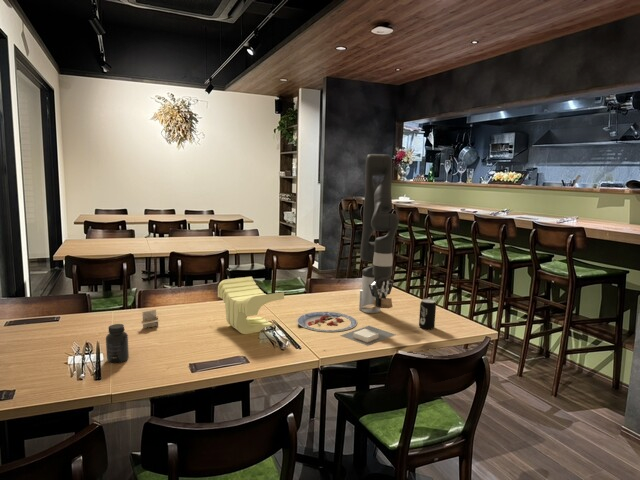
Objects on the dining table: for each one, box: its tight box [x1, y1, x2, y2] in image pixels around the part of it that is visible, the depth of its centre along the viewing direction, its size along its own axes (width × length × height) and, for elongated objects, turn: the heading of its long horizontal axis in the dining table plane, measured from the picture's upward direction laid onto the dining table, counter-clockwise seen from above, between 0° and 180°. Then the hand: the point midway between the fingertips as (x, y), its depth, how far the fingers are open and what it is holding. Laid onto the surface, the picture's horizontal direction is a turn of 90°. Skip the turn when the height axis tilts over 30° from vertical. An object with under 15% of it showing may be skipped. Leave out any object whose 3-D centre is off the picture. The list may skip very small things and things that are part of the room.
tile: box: [353, 329, 379, 343], centre depth 176 cm, size 2×7×7 cm
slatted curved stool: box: [217, 276, 285, 335], centre depth 188 cm, size 30×16×18 cm, turn 34°
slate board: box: [340, 325, 397, 347], centre depth 180 cm, size 14×18×2 cm
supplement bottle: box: [105, 323, 130, 365], centre depth 153 cm, size 7×7×12 cm
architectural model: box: [139, 309, 160, 329], centre depth 184 cm, size 3×7×7 cm, turn 131°
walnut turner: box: [359, 297, 393, 310], centre depth 182 cm, size 13×6×4 cm, turn 45°
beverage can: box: [418, 298, 437, 331], centre depth 195 cm, size 7×7×12 cm
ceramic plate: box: [296, 311, 358, 333], centre depth 195 cm, size 26×26×3 cm
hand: (380, 306), depth 181 cm, fingers closed on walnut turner, 2 cm apart
